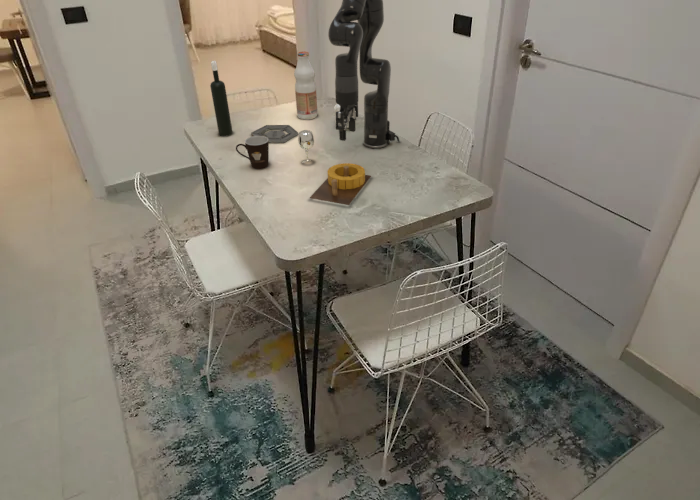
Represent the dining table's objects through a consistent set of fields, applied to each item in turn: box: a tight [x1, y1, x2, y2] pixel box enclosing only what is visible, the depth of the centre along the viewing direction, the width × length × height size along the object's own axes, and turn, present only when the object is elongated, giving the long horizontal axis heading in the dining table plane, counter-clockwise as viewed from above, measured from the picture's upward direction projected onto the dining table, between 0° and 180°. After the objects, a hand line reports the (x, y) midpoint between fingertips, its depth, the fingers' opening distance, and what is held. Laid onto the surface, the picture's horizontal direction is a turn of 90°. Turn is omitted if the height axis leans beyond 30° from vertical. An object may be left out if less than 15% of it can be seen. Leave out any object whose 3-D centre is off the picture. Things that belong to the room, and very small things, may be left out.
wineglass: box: [297, 129, 315, 164], centre depth 182 cm, size 6×6×12 cm
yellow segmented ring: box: [327, 162, 366, 189], centre depth 170 cm, size 13×13×4 cm
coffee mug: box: [235, 135, 270, 170], centre depth 182 cm, size 12×9×10 cm
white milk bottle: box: [293, 51, 318, 120], centre depth 218 cm, size 9×9×28 cm
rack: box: [309, 166, 372, 206], centre depth 167 cm, size 22×14×6 cm, turn 159°
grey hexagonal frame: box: [250, 124, 299, 144], centre depth 208 cm, size 17×20×1 cm
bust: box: [333, 103, 349, 129], centre depth 212 cm, size 12×8×11 cm
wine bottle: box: [209, 60, 234, 137], centre depth 202 cm, size 6×6×30 cm
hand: (347, 135), depth 169 cm, fingers open, 8 cm apart
